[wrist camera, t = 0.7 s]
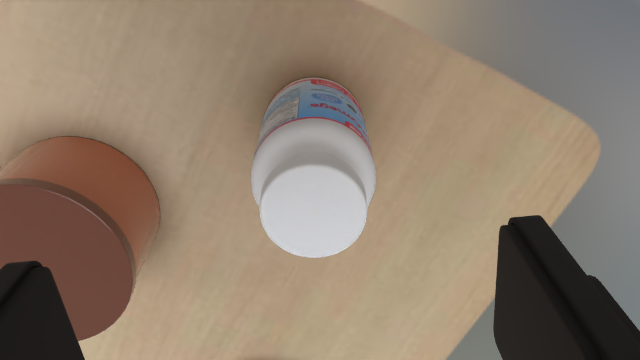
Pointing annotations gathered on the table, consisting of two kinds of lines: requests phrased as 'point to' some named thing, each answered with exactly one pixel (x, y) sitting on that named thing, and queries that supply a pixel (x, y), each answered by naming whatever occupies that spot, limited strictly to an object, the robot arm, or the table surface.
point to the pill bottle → (313, 169)
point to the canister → (79, 224)
